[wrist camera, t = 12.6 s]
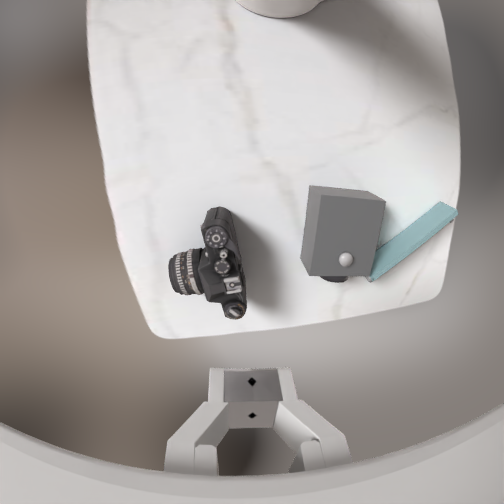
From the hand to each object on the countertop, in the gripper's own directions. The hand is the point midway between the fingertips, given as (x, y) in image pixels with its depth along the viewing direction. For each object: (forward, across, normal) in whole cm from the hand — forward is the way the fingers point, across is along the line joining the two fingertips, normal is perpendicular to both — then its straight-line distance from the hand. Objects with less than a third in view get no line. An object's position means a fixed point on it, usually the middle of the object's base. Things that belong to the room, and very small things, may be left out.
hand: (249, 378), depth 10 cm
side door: (+34, -30, +6) cm, 45 cm away
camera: (+34, +4, +10) cm, 36 cm away
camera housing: (+34, -16, +5) cm, 38 cm away
